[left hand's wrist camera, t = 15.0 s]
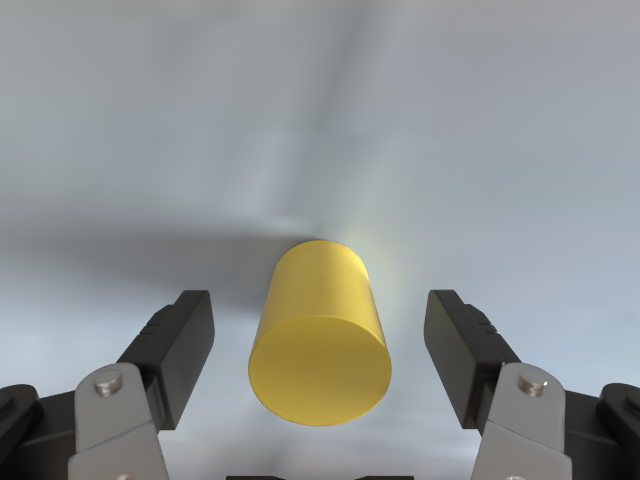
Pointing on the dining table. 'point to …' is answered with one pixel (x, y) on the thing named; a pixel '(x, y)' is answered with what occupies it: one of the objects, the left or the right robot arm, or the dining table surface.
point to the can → (319, 339)
